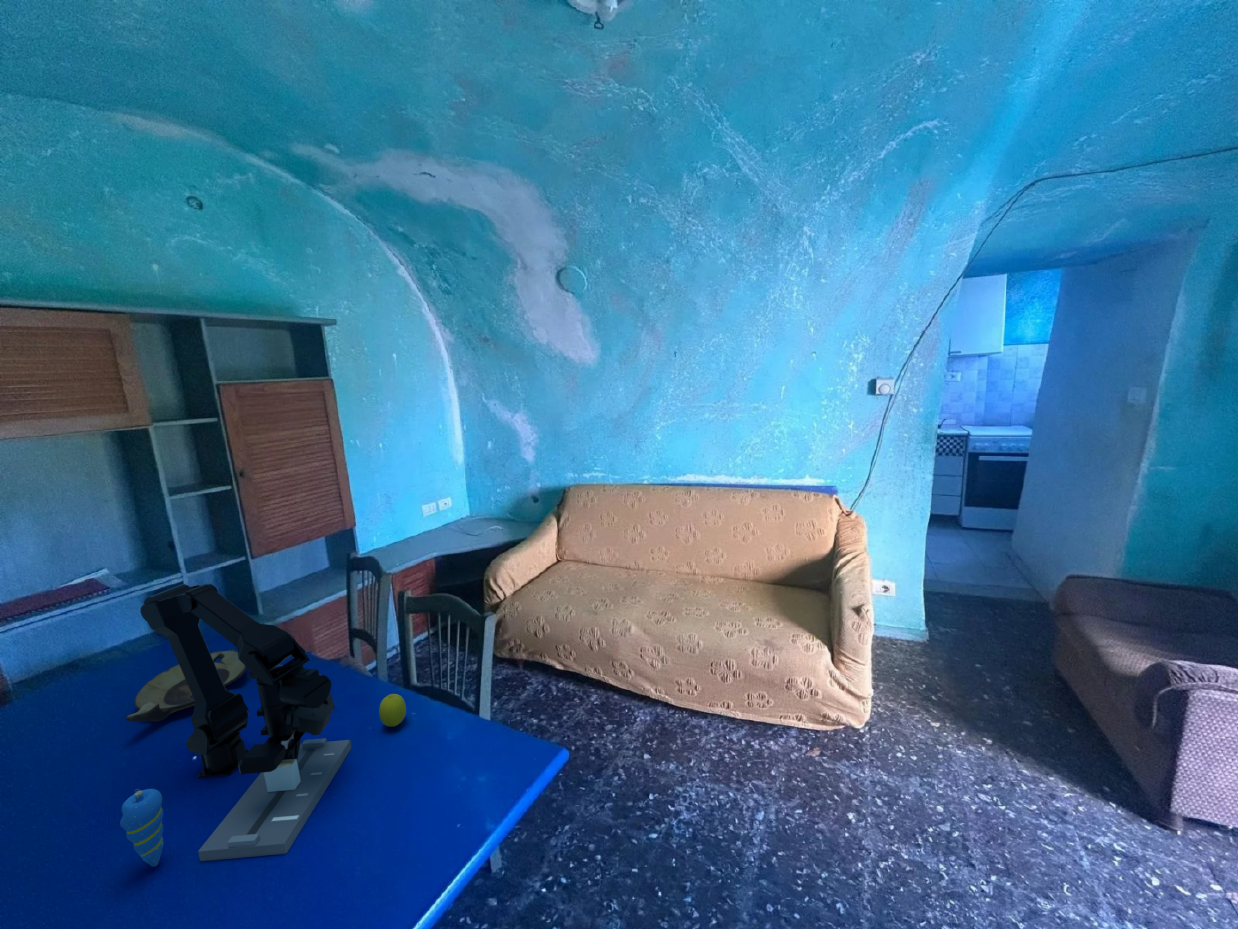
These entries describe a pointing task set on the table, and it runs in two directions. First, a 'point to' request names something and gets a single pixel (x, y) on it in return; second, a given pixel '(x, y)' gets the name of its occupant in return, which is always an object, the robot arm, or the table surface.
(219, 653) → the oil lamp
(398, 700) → the lemon
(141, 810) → the ornament
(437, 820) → the table surface
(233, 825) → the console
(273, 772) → the fader tab
